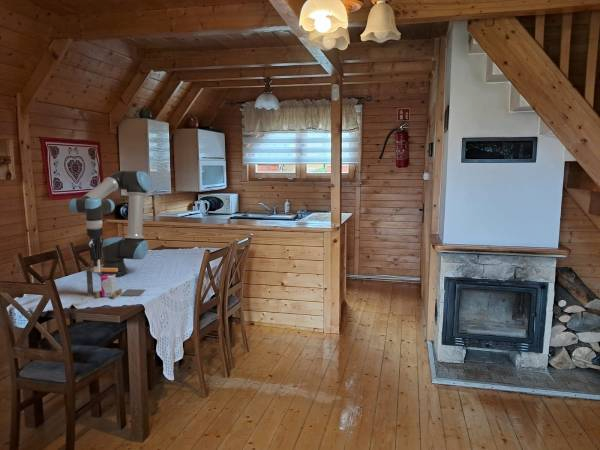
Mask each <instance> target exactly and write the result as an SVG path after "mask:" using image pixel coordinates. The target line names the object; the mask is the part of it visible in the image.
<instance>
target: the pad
mask: <svg viewBox="0 0 600 450" xmlns="http://www.w3.org/2000/svg"><path fill="white" fill-rule="evenodd" d="M144 291H145V292H146V289H132V288H131V289H129V288H128V289H126V290H124V291H123V292H122V293H121V294H120V295H119V296H120V297H132V296H139V297H140V296H141V295H143V293H145V292H144Z"/></svg>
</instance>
